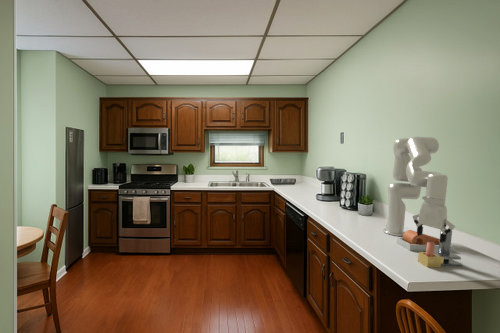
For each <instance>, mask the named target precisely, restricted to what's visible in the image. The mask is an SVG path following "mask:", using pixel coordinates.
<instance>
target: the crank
mask: <svg viewBox="0 0 500 333" xmlns="http://www.w3.org/2000/svg"><path fill="white" fill-rule="evenodd" d="M404 232H405V233H404V234H403V236H402V238H403V240H404V241H405V242H407V243H409V244H416V245H427V242H433V243H435V245H439V241H440V238H438V237H435V236H433V235H432V236H431V235H428V234H425V233H422V235H419V236H418V235H417V231H415V230H413V229H409V230H406V231H404Z"/></svg>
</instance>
